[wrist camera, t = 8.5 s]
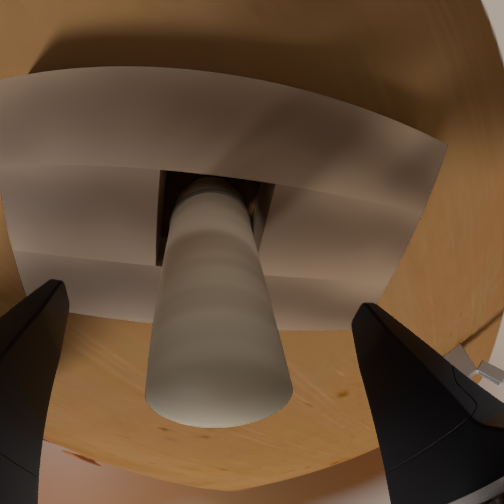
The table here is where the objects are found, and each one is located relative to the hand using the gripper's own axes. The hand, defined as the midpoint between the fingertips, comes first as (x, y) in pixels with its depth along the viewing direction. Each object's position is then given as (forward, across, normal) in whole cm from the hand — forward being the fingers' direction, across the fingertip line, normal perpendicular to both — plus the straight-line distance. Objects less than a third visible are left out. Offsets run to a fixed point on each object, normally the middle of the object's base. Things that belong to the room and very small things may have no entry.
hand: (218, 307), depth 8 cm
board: (+7, 0, 0) cm, 7 cm away
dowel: (+7, 0, 0) cm, 7 cm away
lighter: (+7, -31, +14) cm, 35 cm away
